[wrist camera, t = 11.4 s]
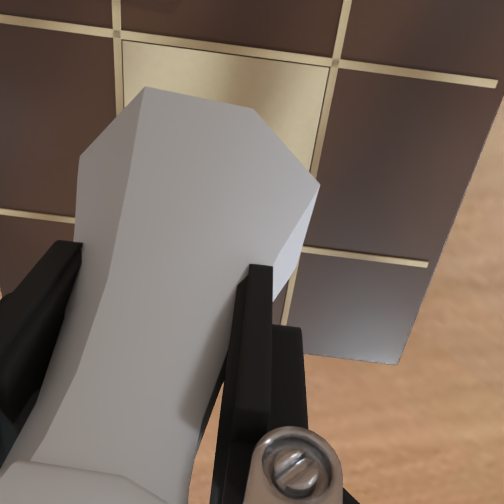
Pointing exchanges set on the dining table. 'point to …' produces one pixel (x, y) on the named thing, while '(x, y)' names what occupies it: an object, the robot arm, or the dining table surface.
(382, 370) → the dining table surface
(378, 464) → the dining table surface
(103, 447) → the flask
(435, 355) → the dining table surface
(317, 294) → the board
